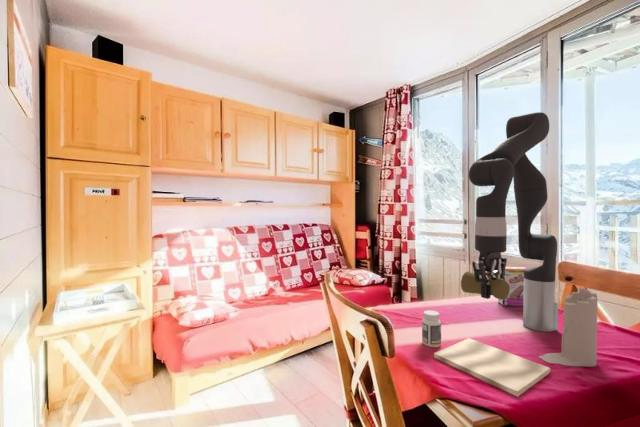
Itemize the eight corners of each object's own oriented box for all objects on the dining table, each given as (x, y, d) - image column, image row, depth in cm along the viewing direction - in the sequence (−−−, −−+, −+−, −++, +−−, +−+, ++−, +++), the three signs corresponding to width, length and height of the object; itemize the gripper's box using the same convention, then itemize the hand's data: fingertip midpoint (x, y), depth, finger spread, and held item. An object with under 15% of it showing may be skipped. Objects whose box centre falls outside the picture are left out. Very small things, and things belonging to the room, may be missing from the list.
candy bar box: (503, 306, 132) (503, 268, 132) (497, 302, 137) (498, 266, 137) (530, 307, 131) (531, 269, 131) (524, 303, 136) (524, 266, 136)
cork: (464, 268, 88) (505, 275, 79) (474, 275, 91) (514, 283, 82) (458, 288, 87) (499, 298, 78) (469, 295, 90) (509, 305, 81)
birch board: (433, 357, 88) (433, 353, 88) (468, 341, 98) (468, 338, 98) (517, 396, 70) (517, 391, 70) (550, 372, 80) (550, 368, 80)
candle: (533, 353, 90) (534, 286, 89) (581, 354, 90) (582, 286, 89) (551, 366, 83) (552, 292, 82) (603, 367, 82) (605, 293, 82)
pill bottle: (441, 341, 98) (441, 311, 98) (440, 349, 93) (440, 317, 93) (423, 338, 100) (423, 308, 100) (421, 345, 95) (421, 314, 95)
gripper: (490, 236, 76) (490, 305, 76) (517, 233, 84) (517, 295, 84) (462, 234, 82) (462, 297, 83) (489, 231, 90) (489, 289, 90)
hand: (489, 296), depth 83 cm, fingers closed on cork, 3 cm apart
